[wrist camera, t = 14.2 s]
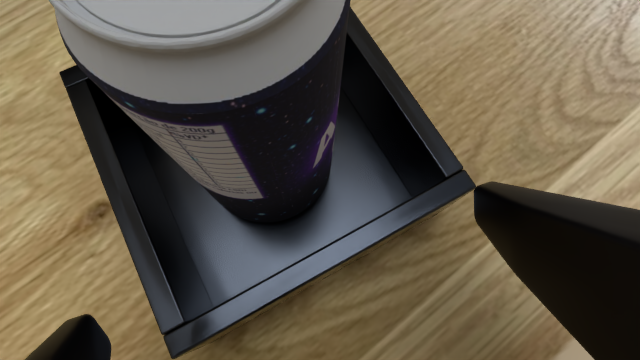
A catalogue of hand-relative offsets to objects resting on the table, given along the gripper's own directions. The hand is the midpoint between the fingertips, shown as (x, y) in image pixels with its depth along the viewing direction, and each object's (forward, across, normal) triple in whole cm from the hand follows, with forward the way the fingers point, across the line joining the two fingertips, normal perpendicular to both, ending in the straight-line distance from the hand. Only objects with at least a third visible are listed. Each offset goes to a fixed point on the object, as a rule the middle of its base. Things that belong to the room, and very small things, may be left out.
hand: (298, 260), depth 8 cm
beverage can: (+10, 0, +2) cm, 10 cm away
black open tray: (+10, 0, +2) cm, 10 cm away
